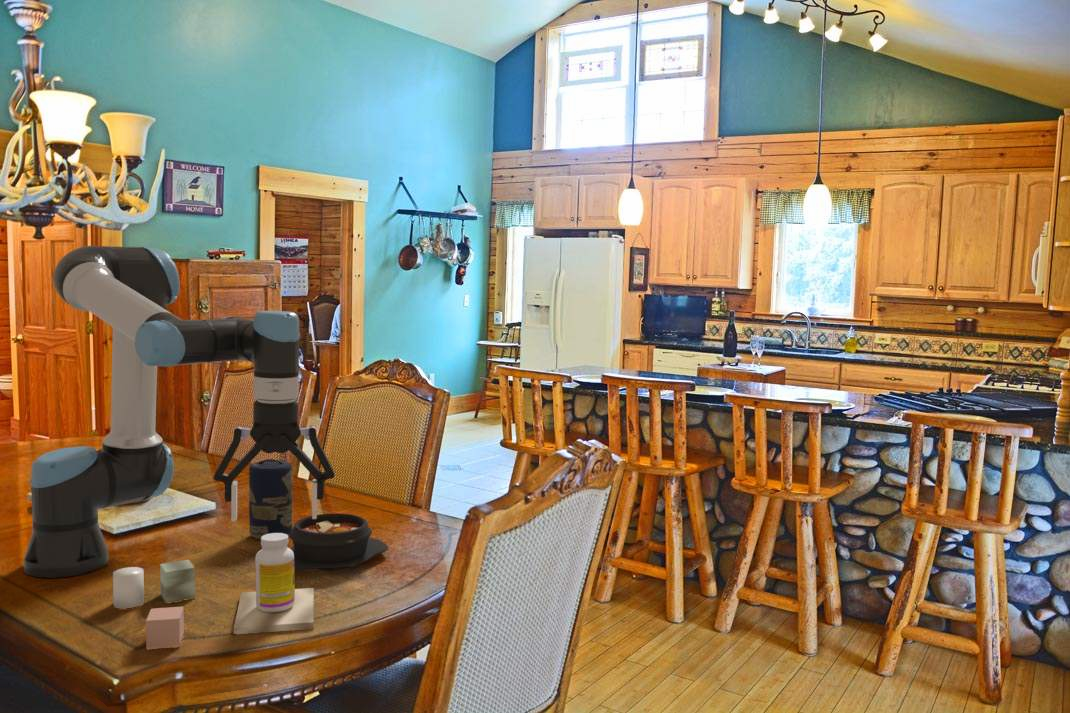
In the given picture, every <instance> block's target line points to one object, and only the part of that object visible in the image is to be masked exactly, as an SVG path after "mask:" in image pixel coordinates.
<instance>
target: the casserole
mask: <svg viewBox="0 0 1070 713" xmlns="http://www.w3.org/2000/svg"><path fill="white" fill-rule="evenodd" d="M372 534H373V530H372V528H371V527H370V526H369V523H368V521H367V519H366V518H365V517H363V516H359V515H356V514H350V513H337V512H336V513H332V512H331V513H321V514H317V519H312V515H310V516H306V517H303V518H301V519H299V520H298V519H297V521H296V522H294V525H293V527H292V531H291V532H290V533H289V535H288V537H289V538H290V539H291V541H292V545H293V546H291V547H289V548H290V549H291V550H292V551H293V553H294V572H303V571H313V570H322V571H331V570H333V571H334V570H341V569H346V568H349V567H352V566H356V565H360V564H362V563H365V562H367V561H369V560H370V559H373V558H374V557H375V556H378V555H380V554H383V553H385V552H387V550H388V549H389V546H388V545H387V543H385V542H384V541H383V540H380V539H378V538H374V537H371V536H372Z"/></svg>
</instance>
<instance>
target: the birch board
mask: <svg viewBox="0 0 1070 713" xmlns="http://www.w3.org/2000/svg"><path fill="white" fill-rule="evenodd" d="M314 590H315V589H314V587H306V588H295V602H294V605H293V606H292V607H291V608H289V609H287V610H285V611H281V612H274V613H269V612H263V611H260V610H259V609H258V608H257V606H256V590H255V591H243V592H241V594H240V598H239V602H238V605H237V606H238V607H237V612H236V616H235V620H234V625H233V635H234V634H236V635H246V634H247V635H249V633H250V634H260V632H261V634H262V632H263V633H273V632H288V631H289V632H291V631H301V630H303V631H305V630H314V626H315V625H314V616H315V615H314V614H315V612H314V607H315V606H314V605H315V604H314V603H315V602H314V599H315V598H314V595H315V592H314ZM290 630H291V631H290Z"/></svg>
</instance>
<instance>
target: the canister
mask: <svg viewBox="0 0 1070 713" xmlns="http://www.w3.org/2000/svg"><path fill="white" fill-rule="evenodd" d="M248 482H249V483H248V490H249V492H248V494H249V495H248V496H249V498H248V499H249V501H248V515H249V516H248V517H249V518H248V519H249V520H248V521H249V533H250V536H251V537H253V538H254V539H257V540H261V537H262V536H263V535H266V534H270V533H284V534H287V535H288V536H289V533H290V532H291V531H292V530H293V527H294V525H293V517H294V516H293V498H294V496H293V494H294V493H293V491H294V490H293V487H294V486H293V484H294V483H293V466H292V464H291V463H290V462H289V461H286V460H280V459H274V458H268V459H263V460H261V461H257V462H256V461H255V462H254V463H252V464H251V465H250V466H249V468H248Z"/></svg>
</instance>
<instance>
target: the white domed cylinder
mask: <svg viewBox="0 0 1070 713" xmlns="http://www.w3.org/2000/svg"><path fill="white" fill-rule="evenodd" d="M144 572H145V571H144V568H143V567H139V566H128V567H123V568H118V569H117V570H114V571H113V572H112V584H113V586H112V589H113V590H112V592H113V608H115V607H116V608H115V609H117V608H123V609H122V610H125V609H124V608H132V607H136V606H139V605H141V604H142V605H144V604H145V585H144V583H145V581H144V580H145V579H144V576H145V575H144ZM142 605H141V606H142ZM139 607H140V606H139ZM136 608H137V607H136ZM132 609H133V608H132Z"/></svg>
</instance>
